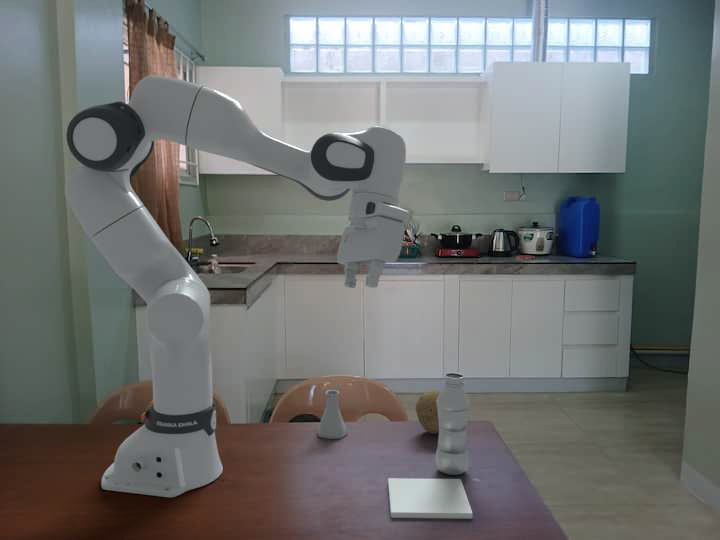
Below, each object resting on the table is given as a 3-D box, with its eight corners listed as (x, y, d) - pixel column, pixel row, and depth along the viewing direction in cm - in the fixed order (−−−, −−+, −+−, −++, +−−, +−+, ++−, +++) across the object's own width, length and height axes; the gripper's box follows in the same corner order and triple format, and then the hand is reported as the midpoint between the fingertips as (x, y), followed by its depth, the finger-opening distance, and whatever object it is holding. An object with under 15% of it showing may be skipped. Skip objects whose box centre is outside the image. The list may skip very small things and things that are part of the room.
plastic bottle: (471, 479, 114) (474, 381, 111) (436, 479, 114) (439, 380, 111) (465, 464, 120) (468, 370, 117) (432, 463, 120) (435, 370, 118)
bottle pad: (391, 517, 100) (391, 512, 100) (388, 483, 112) (388, 478, 112) (472, 518, 100) (472, 513, 100) (460, 483, 112) (460, 479, 112)
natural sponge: (437, 422, 142) (438, 382, 141) (462, 435, 134) (463, 393, 133) (407, 430, 137) (408, 389, 136) (432, 444, 130) (433, 401, 128)
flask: (343, 441, 131) (343, 398, 129) (312, 438, 132) (312, 396, 131) (350, 428, 138) (350, 388, 136) (321, 426, 139) (321, 385, 138)
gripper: (336, 217, 116) (323, 284, 115) (382, 202, 98) (368, 282, 96) (364, 224, 119) (352, 290, 117) (414, 211, 100) (401, 290, 99)
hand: (359, 287), depth 106 cm, fingers open, 8 cm apart
